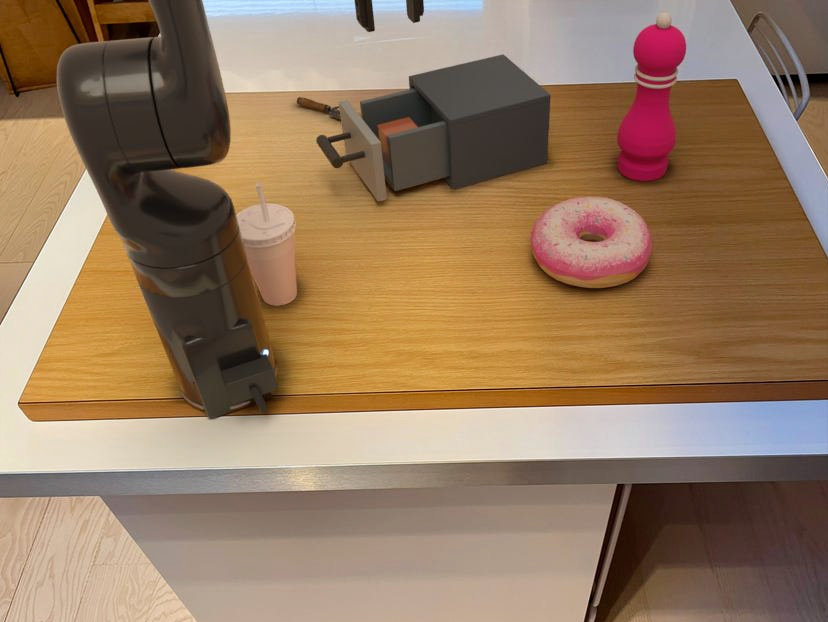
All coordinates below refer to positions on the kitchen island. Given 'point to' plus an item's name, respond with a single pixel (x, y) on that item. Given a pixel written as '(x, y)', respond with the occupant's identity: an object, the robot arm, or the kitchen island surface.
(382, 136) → the block
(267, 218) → the smoothie
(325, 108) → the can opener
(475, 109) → the cabinet
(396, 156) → the drawer
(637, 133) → the pepper mill
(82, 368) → the kitchen island surface
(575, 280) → the donut
